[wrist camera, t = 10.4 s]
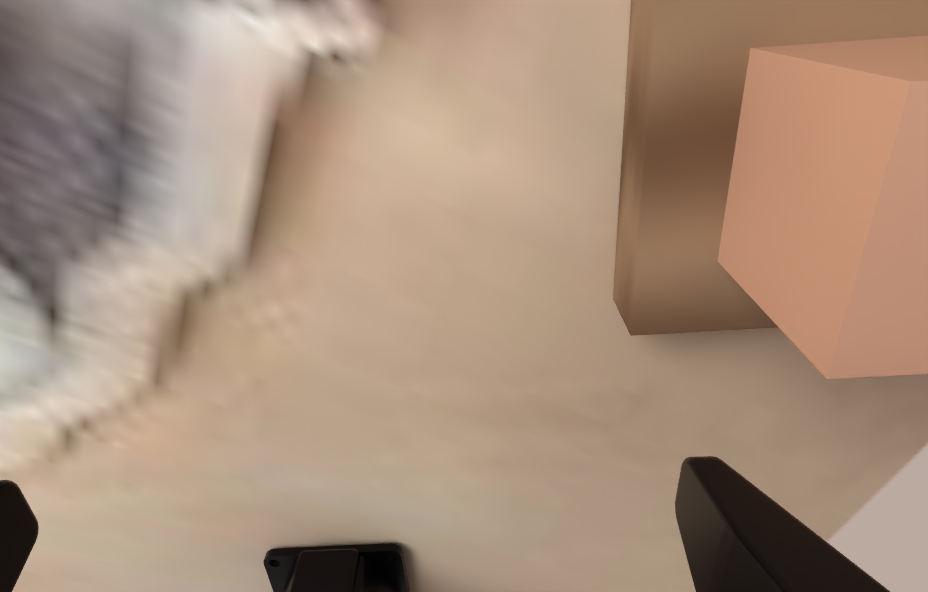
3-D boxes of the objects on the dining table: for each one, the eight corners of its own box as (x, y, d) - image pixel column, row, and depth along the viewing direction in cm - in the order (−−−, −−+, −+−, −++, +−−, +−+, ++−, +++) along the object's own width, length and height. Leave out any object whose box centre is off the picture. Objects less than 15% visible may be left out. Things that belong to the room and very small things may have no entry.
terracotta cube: (919, 249, 17) (1118, 363, 12) (717, 261, 18) (826, 379, 12) (991, 30, 15) (1295, 54, 9) (750, 47, 15) (911, 81, 9)
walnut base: (921, 280, 21) (976, 315, 18) (613, 299, 21) (630, 335, 19) (1047, -85, 15) (1143, -97, 13) (634, -52, 16) (662, -59, 14)
